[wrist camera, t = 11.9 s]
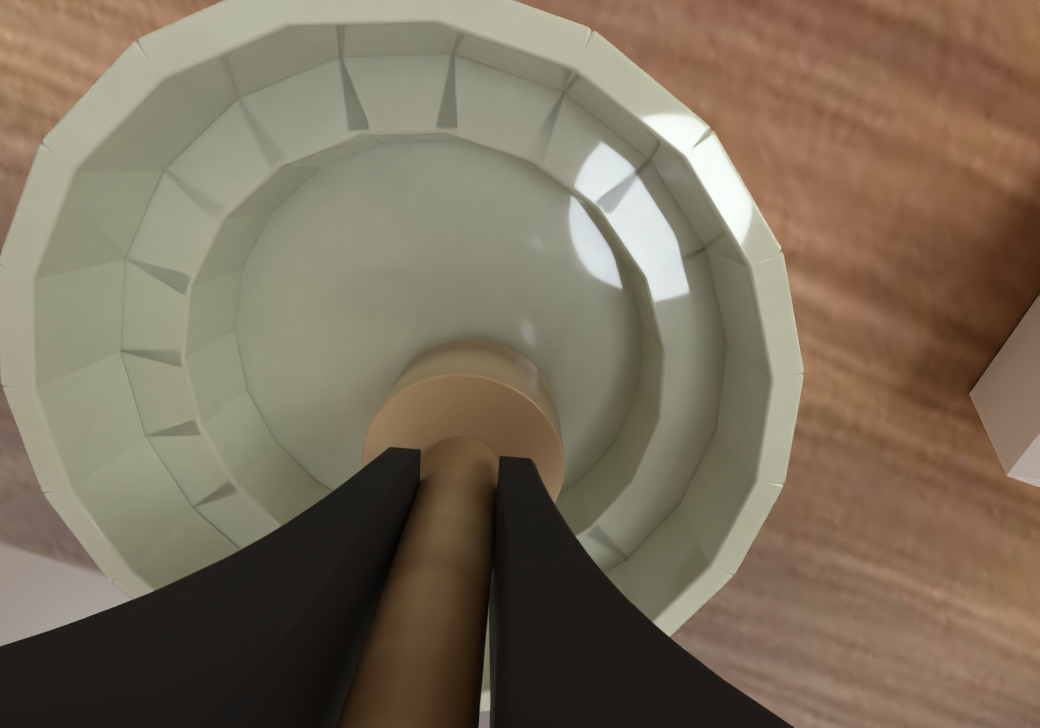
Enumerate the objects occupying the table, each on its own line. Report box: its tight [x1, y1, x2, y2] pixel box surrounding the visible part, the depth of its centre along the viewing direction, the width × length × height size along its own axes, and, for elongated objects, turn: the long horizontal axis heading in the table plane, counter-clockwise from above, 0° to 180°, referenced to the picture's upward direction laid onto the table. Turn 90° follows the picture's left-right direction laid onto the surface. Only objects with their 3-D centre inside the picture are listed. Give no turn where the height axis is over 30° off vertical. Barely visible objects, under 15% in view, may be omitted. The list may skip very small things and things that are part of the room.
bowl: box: [0, 0, 804, 712], centre depth 12 cm, size 14×14×5 cm
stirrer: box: [336, 339, 565, 728], centre depth 9 cm, size 4×4×10 cm
